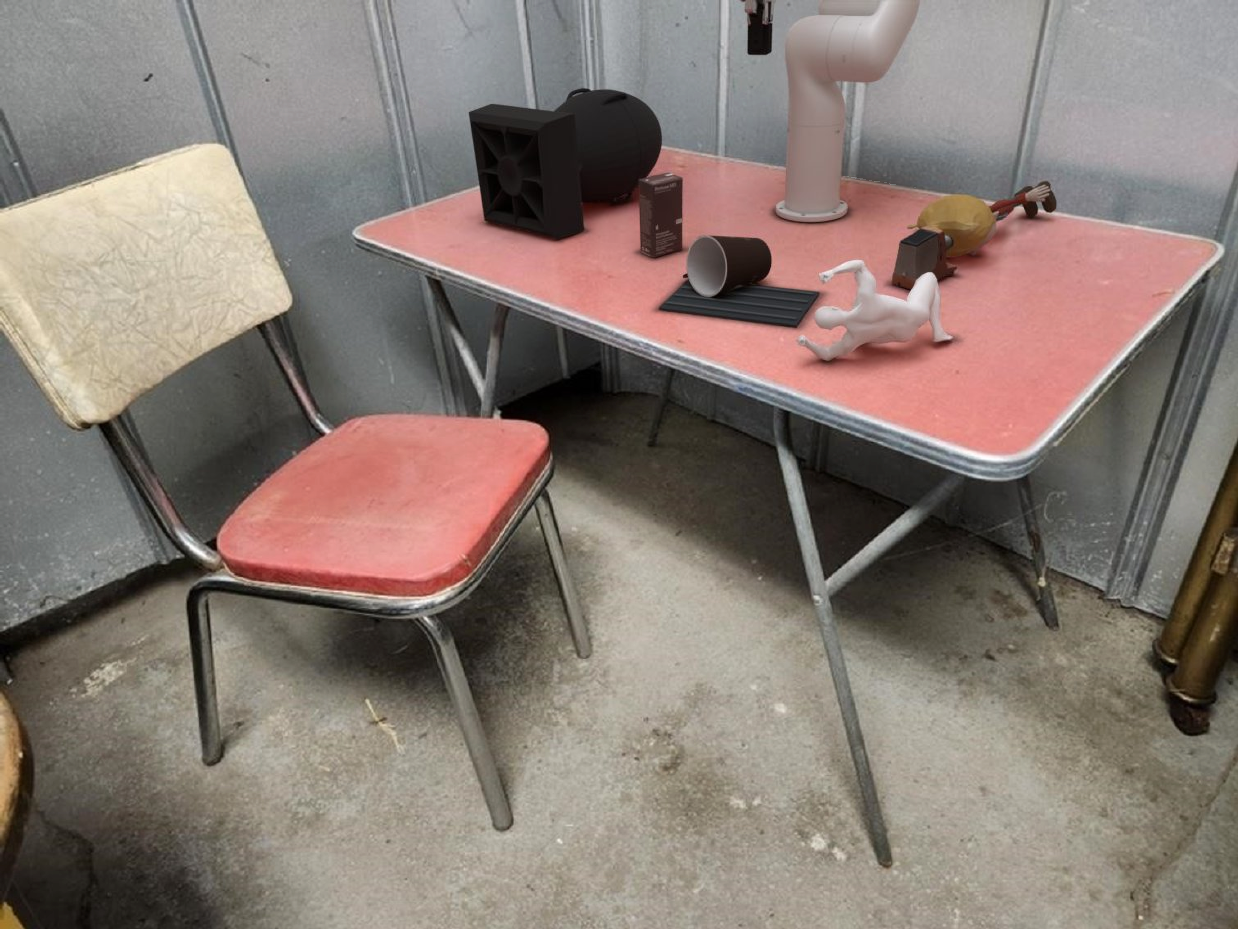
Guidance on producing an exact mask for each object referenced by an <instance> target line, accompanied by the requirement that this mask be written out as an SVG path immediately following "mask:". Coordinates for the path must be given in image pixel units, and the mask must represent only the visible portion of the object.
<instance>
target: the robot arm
mask: <svg viewBox="0 0 1238 929" xmlns="http://www.w3.org/2000/svg"><path fill="white" fill-rule="evenodd" d="M739 1H740V2H741V3H744V13H745V14H746V23H747V43H746V44H747V50H746V53H747V55H749V56H767V55H769V54H771V53H772V51H773V26H774V25H773V21H774V9H775V4H776V0H739ZM920 4H921V0H819V4H818V14H816V15H809V16H805V17H802V18H800V19H799V20H797V21H796V22H795V23H793V25H792V26H791V27H790V29H788V32H787V34H786V37H785V42H784V59H785V67H786V74H787V75H786V76H787V85H788V86H787V87H788V114H787V137H786V138H787V139H786V140H787V141H786V160H785V161H786V166H785V183H784V184H785V185H784V186H785V187H784V199H782V200H780V201H779V202H778V203H777V204H776V205H775V214H776V215H777V216H778V217H780V218H782V219H785V220H787V221H792V222H798V223H799V222H800V223H820V222H822V223H823V222H829V221H835V220H837V219H840V218H842V217H845V215H846V214H847V213H848V206H849V205H848V204H847V202H846V201H844V200H842V199H840V195H841V182H842V170H843V168H842V167H843V154H844V142H845V128H846V116H847V108H846V102H845V99H844V95H843V93H842V90H841V89H840V87H839V86H838V84H837V82H844V83H845V82H847V83H864V84H865V83H874V82H877V81H879V80H881V79H882V78H883V77H884V76H886V74H887V73H888V71H889V70H890V68H891V67H892V65H893V63H894V61H895V59H896V57H897V55H898V54H899V52H900V50H901V48H902V47H903V44H904V43H905V41H906V39H907V37H908V35H909V33H910V31H911V29H912V27H913V25H914V23H915V20H916V18H917V16H918V12H919V9H920Z"/></svg>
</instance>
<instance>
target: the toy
mask: <svg viewBox="0 0 1238 929" xmlns="http://www.w3.org/2000/svg"><path fill="white" fill-rule="evenodd" d="M1051 186H1052V184H1051V183H1050V182H1049V181H1048V180H1042V181H1041V182H1039V183H1038V184H1037V185H1036V186H1034V187H1033V185H1026V186H1024V187H1022V188H1021V189H1019V190H1018V191H1017V192H1016V193H1014V194H1013V197H1012V198H1011V199H1000V200H998V201H997V200H996V201H995V202H994V203H993V204H991V205H988V204H987V203H986V202H985V200H982V199H981V198H978V197H976V196H973V195H970V194H963V193H962V194H961V193H959V194H950V195H944V196H943V197H941V198H939V199H937V200H934V201H933V202H931V203H929V204H928V205H926V206H925V207H924V208H923V209H922V210H921V212H920V214H919V216H918V218H917V221H916V224H915V223H914V224H910V225H908V226H906V229H907V230H912V229H915V228H918V230H919V229H921V228H922V227H925V226H928V227H933V228H936V229H940V230H943V231H944V233H945V235H949V236H951V237H952V239H953V240H954V244H953V246H952V247H951V248H950V249H949V250H947V251H946V258H954V257H961V256H964V255H967V254H970V255H971V256H976V255H977V253H978V252H979V250H980V249H981V248H983V247H984V246H985V245H986V244H987V243H989V241H990V240H992V239H993V238H994V236H995V235H996V233H997V231H998V230H997V222H999V221H1002V220H1004V219H1006V218H1007V217H1008V216H1009V215H1010V214H1011V213H1012V212H1014V210H1015V208H1017V207H1019V206H1021V205H1022V207H1023V210H1024V213H1025V215H1026V216H1027V218H1031V219H1033V218H1035V217H1036V216H1037V215H1038V213H1039V207H1038V203H1041V206H1042V208H1043V210H1044V211H1045V213H1049V214H1052V213H1054V212H1055V211H1056V210H1057V206H1058V205H1057V204H1058V202H1057V198H1056V196H1055V193H1054V192H1053V191H1052V189H1051V188H1052V187H1051Z"/></svg>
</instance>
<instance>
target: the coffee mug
mask: <svg viewBox="0 0 1238 929" xmlns="http://www.w3.org/2000/svg"><path fill="white" fill-rule="evenodd" d="M771 253H772V252H771V249H770V247H769V245H768V243H767V242H766V241H765V240H763V239H762V238H759V237H746V236H729V235H728V236H727V235H726V236H725V235H711V234H710V235H707V234H702V235H700V236H698V237H696V238H695V239H694V240H693V241H692V243H691V244H690V246H689V247H688V251H687V253H686V261H685V263H686V264H685V268H686V273H684V274H682V278H683V279H689V281H690V283H691V285H692V287H693V288H694V289H695V290H696V292H697V293H699V294H700V295H702V296H705V297H711V296H715V295H718V294H721V293H724V292H727V291H731V290H734V289H737V288H740V287H743V286H746V285H749V284H753V285H754V284H756V283H759V282H762V281H763V280H765V279H766V278H767V277H768V275H769V273H770V272H771V270H772V263H773V258H772V254H771Z"/></svg>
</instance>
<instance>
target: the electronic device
mask: <svg viewBox="0 0 1238 929" xmlns="http://www.w3.org/2000/svg"><path fill="white" fill-rule="evenodd" d="M953 244H954V240H953V239H952V237H951V236H949V235H945V233H944V231H943V230H940V229H936V228H933V227H928V226H925V227H922V228H921V229H919V228H918V229H917V230H916V231H914V232H913V233H911V234H910V235H908V236H906V237H904V238H903V239H901V240H899V243H898V249H897V254H896V260H895V264H894V269H893V273H892V278H891V284H892V285H894V286H896V287H901V288H903V289H908V290H910V291H911V290H912V288H913V287H914V284H915V282H916V280H917V279H918V278H919V277H920V276H922V275H923V274H925V273H927V272H932V273H933V274H934V275H935V277H936V278H937V281H938V280H941V279H942V278H944V277H953V276H954V275H955V271H956V270H958V265H955V264H950V263H948V262H947V257H946V251H947V250H949V249H950V248H951V247H952V246H953Z"/></svg>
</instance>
